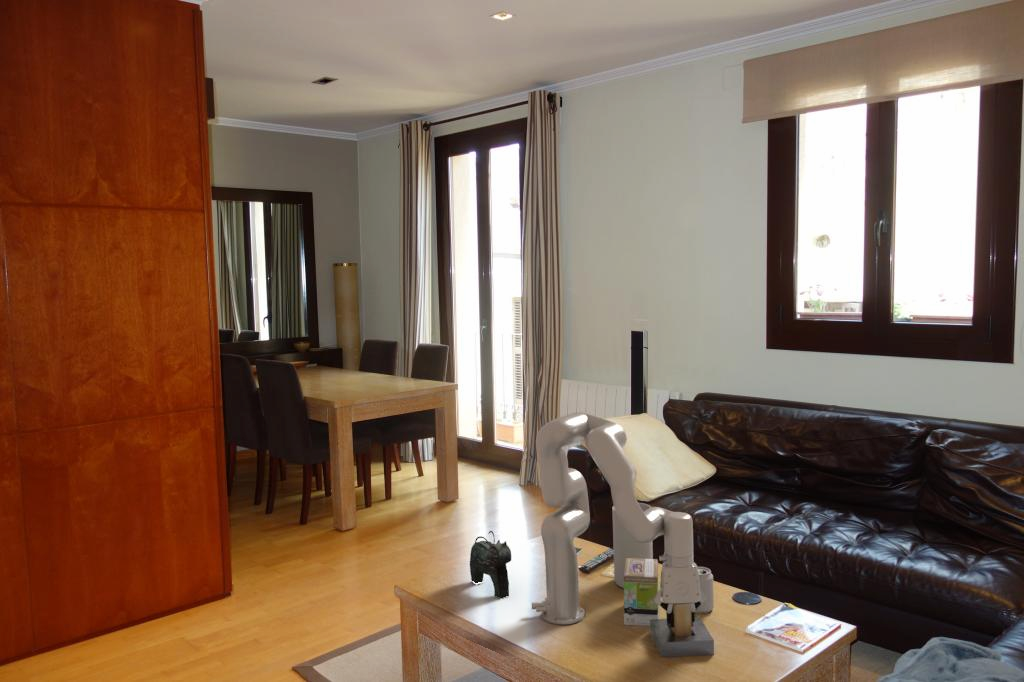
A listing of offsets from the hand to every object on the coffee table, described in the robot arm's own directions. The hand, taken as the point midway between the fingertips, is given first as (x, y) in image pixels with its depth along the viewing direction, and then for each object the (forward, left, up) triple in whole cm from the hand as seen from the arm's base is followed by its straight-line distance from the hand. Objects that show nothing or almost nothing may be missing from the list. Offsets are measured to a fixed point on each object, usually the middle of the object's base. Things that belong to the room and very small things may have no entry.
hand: (680, 624), depth 211 cm
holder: (0, 0, -5) cm, 5 cm away
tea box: (-7, +19, -6) cm, 21 cm away
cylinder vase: (-5, +43, -6) cm, 44 cm away
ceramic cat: (-52, +43, -6) cm, 68 cm away
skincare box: (0, 0, -6) cm, 6 cm away
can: (+11, +21, -6) cm, 24 cm away
